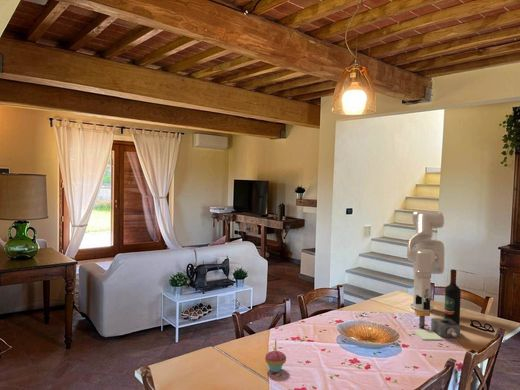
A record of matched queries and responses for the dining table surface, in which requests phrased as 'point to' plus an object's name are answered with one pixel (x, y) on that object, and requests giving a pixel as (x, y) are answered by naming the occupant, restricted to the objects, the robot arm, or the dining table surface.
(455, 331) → the chuck block
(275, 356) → the cupcake
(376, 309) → the dining table surface
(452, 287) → the wine bottle
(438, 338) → the mat
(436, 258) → the robot arm
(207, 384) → the dining table surface
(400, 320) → the dining table surface
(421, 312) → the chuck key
